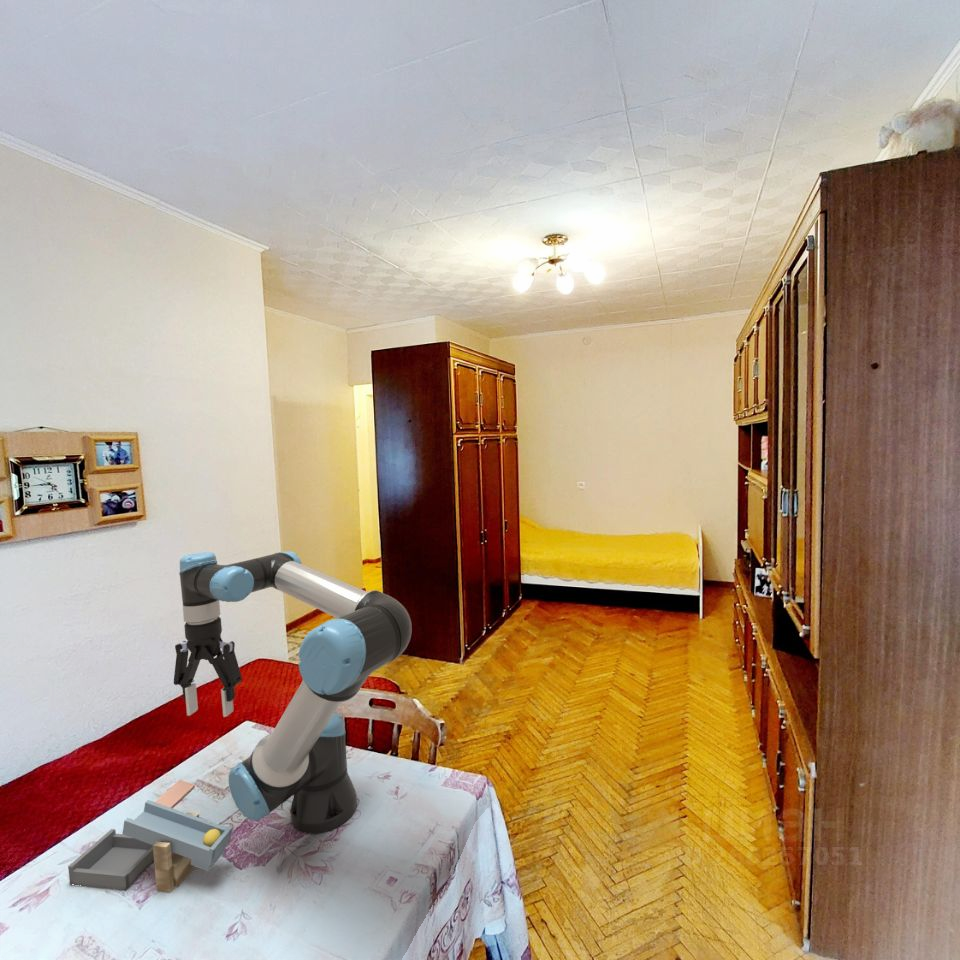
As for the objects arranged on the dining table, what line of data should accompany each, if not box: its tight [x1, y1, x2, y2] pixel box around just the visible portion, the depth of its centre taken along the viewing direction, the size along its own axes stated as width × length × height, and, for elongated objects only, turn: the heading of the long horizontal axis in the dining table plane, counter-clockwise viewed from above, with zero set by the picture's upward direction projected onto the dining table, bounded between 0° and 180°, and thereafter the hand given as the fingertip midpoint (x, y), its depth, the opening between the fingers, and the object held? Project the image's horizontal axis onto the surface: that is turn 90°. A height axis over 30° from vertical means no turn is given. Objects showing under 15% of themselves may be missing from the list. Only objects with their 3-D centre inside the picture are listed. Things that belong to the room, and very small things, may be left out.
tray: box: [67, 828, 154, 892], centre depth 105 cm, size 13×10×4 cm
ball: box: [203, 829, 221, 847], centre depth 102 cm, size 3×3×3 cm
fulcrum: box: [153, 812, 200, 893], centre depth 103 cm, size 4×9×10 cm, turn 171°
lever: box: [121, 779, 234, 872], centre depth 107 cm, size 20×16×5 cm
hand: (210, 713), depth 118 cm, fingers open, 9 cm apart
